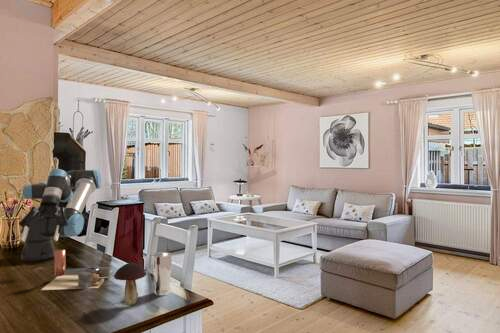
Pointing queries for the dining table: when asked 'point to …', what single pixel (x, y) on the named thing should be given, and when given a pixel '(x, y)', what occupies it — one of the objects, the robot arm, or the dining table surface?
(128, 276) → the decorative mushroom
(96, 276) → the walnut
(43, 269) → the dining table surface
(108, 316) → the dining table surface
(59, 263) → the lever
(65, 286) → the tapered cream board
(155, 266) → the beer glass
